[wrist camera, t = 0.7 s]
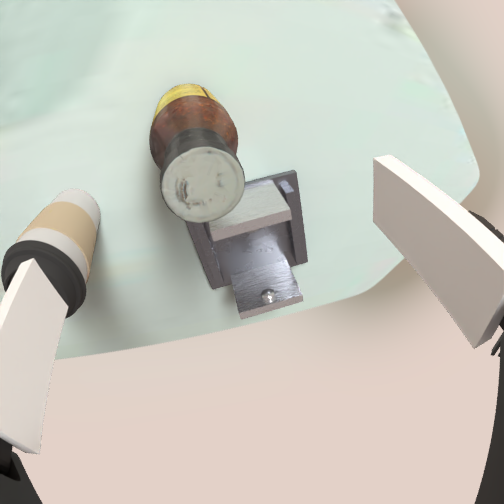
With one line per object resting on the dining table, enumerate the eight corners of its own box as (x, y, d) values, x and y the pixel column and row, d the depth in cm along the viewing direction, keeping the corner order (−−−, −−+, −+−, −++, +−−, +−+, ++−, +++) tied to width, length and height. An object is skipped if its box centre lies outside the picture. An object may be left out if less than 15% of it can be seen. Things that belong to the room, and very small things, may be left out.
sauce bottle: (148, 125, 29) (106, 217, 14) (174, 72, 27) (155, 95, 11) (202, 148, 32) (224, 258, 17) (230, 98, 30) (287, 157, 14)
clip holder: (212, 285, 44) (218, 327, 38) (179, 201, 35) (179, 237, 29) (305, 258, 45) (325, 295, 38) (294, 169, 36) (318, 199, 30)
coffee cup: (123, 207, 34) (97, 296, 23) (87, 256, 37) (60, 346, 25) (63, 165, 29) (6, 238, 18) (33, 220, 32) (-15, 302, 20)
